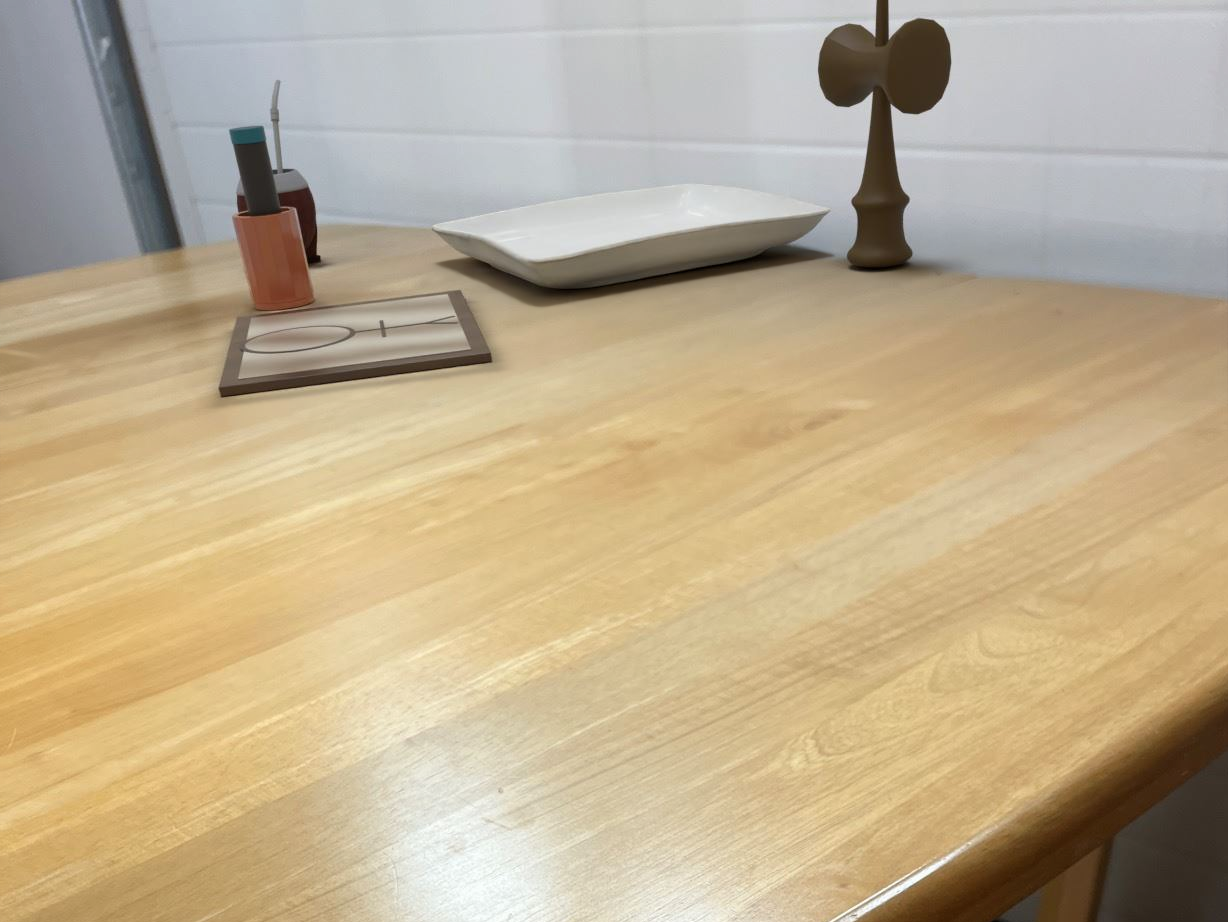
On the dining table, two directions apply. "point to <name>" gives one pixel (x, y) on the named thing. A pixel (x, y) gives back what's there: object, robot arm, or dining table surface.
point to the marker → (255, 170)
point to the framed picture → (351, 342)
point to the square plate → (631, 233)
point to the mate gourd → (290, 190)
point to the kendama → (884, 115)
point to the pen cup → (274, 259)
